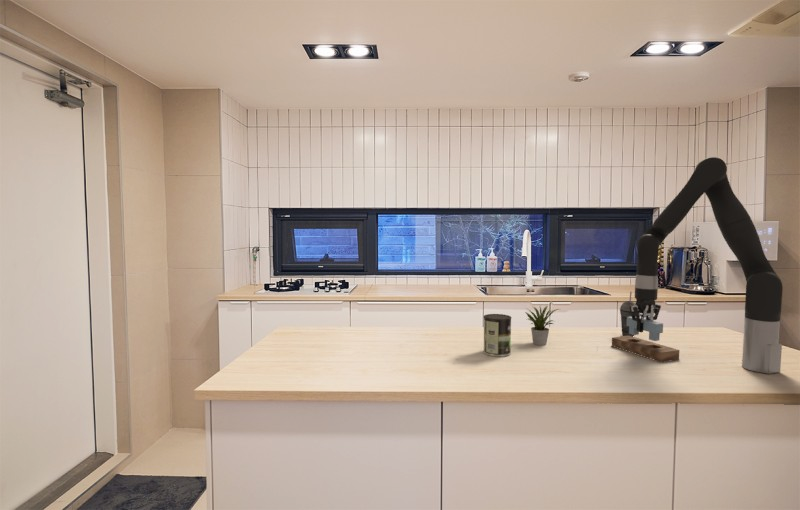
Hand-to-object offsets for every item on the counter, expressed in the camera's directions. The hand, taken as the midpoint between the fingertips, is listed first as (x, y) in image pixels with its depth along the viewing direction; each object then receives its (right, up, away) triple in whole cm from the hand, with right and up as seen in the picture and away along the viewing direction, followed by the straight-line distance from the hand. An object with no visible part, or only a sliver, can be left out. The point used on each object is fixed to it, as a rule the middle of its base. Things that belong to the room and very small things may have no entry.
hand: (644, 331), depth 168 cm
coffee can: (-56, -8, 0) cm, 57 cm away
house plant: (-34, -7, +13) cm, 38 cm away
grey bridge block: (0, -2, 0) cm, 2 cm away
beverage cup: (+6, -7, +24) cm, 26 cm away
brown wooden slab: (0, -8, 0) cm, 8 cm away
